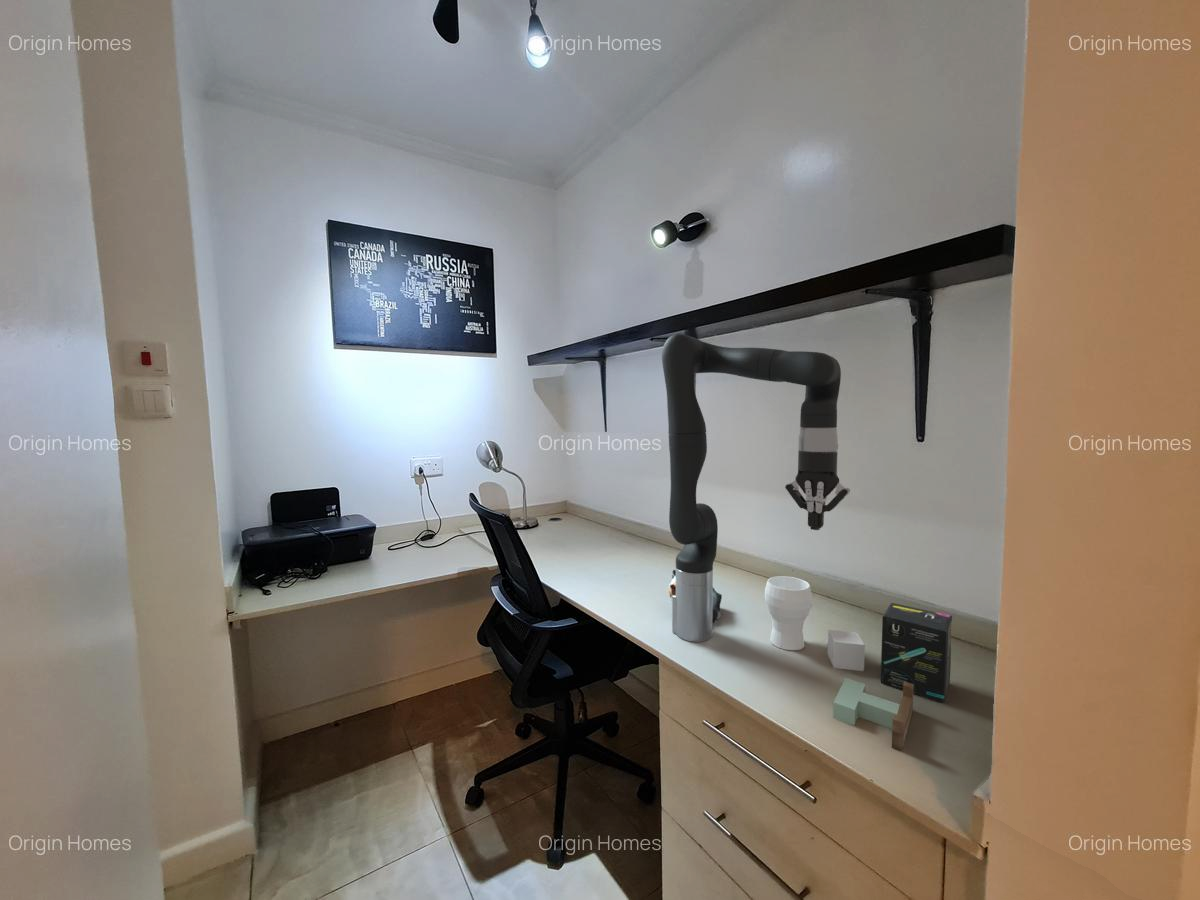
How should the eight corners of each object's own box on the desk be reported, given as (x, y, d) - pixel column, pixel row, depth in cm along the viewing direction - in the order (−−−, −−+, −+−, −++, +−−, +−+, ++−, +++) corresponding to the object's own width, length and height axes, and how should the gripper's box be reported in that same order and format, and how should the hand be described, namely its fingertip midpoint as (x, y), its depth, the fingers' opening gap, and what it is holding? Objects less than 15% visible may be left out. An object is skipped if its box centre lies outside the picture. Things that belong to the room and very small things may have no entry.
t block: (832, 717, 85) (833, 702, 85) (845, 692, 92) (845, 678, 92) (893, 740, 79) (894, 723, 79) (901, 711, 86) (902, 695, 86)
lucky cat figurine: (719, 628, 120) (694, 584, 118) (678, 636, 126) (654, 594, 124) (727, 592, 133) (705, 552, 131) (690, 601, 139) (668, 563, 137)
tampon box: (950, 683, 95) (953, 614, 94) (945, 704, 88) (948, 630, 87) (888, 665, 102) (890, 600, 101) (879, 683, 95) (881, 614, 94)
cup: (807, 635, 116) (808, 577, 115) (814, 656, 106) (816, 593, 105) (762, 630, 119) (763, 573, 118) (765, 650, 109) (766, 588, 108)
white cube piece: (827, 654, 107) (828, 629, 107) (855, 657, 106) (856, 632, 105) (833, 668, 101) (834, 641, 101) (864, 671, 100) (864, 644, 100)
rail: (891, 747, 77) (892, 718, 77) (903, 706, 88) (904, 681, 87) (902, 751, 76) (903, 722, 76) (912, 709, 87) (913, 684, 86)
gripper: (779, 448, 99) (778, 528, 101) (848, 451, 91) (845, 537, 92) (791, 446, 105) (789, 521, 106) (856, 449, 96) (853, 530, 98)
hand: (815, 529), depth 99 cm, fingers closed
